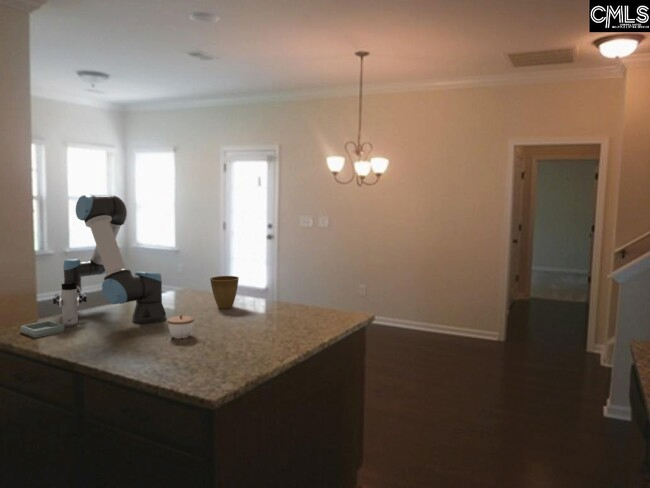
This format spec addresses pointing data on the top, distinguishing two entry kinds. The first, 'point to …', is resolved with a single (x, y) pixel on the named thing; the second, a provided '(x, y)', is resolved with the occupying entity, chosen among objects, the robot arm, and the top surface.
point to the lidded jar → (180, 326)
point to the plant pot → (224, 290)
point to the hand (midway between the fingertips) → (69, 303)
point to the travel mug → (69, 304)
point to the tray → (42, 328)
